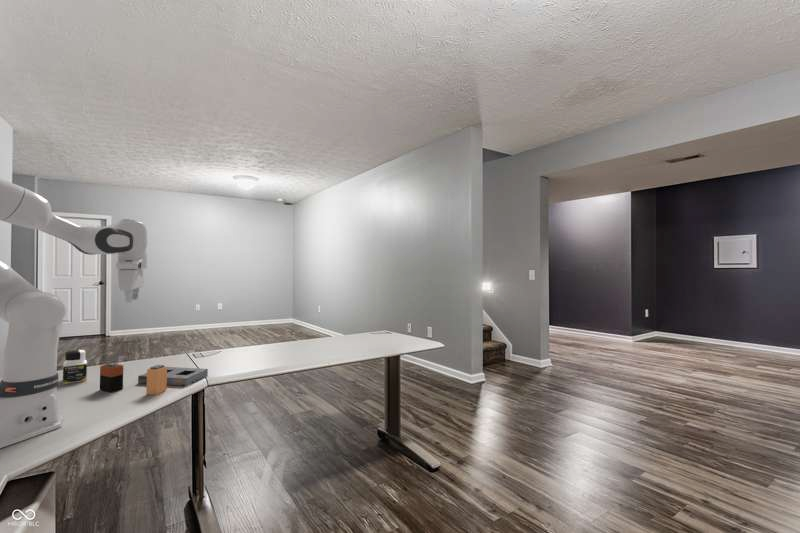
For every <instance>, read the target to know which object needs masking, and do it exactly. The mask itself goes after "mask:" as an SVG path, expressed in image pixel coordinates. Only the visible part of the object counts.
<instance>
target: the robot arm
mask: <svg viewBox="0 0 800 533" xmlns="http://www.w3.org/2000/svg"><path fill="white" fill-rule="evenodd" d="M51 206H52V205H51V204H50V202H49V200H47V199H46V198H45V197H43V196H41V195H40V194H38V193H37V192H34V191H32V190H30V189H28V188H26V187H23V186H21V185H18V184H16V183H12V182H11V181H7V180H5V179H1V178H0V221H3V222H6V223H8V224H11V225H14V226H18V227H21V228H26V229H27V228H28V229H31V230H37V231H40V232H43V233H45V234H48V235H50V236H53V237H56V238H58V239H61V240H63V241H65V242H68V244H71V246H73V247H74V248H75V249H76V250H77V251H79V252H80V253H82V254H85V255H89V256H90V255H91V256H92V255H94V256H95V255H115V254H117V262H116V264H115V268H116V270H117V276H118V277H117V280H118V288H119V290H120V291H123V293H124V298H125V299H124V301H125V303H132V302H133V301H135V300H138V299H139V293H140V288H142V287H144V269H148V254H147V247H148V232H147V226H146V224H145V223H144V222H141V221H138V220H135V219H127V218H125V219H120V221H118V222H116V223H113V224H110V225H106V226H97V227H96V226H81V225H77V224H75V223H73V222H71V221H69V220H66V219H64V218H62V217H60V216H57V215H56V214H54V213H53V212H52V210H53V209H52V207H51ZM66 312H67V310H66V306H65V304H64V302H63V301H62V300H61V299H60V297H58V296H57V295H55V294H53V293H51V292H46V291H42V290H40V289H39V288H37V287H36V286H35V285H33V284H31V283H30V281H28V280H26V279H25V278H24V277H23V276H22V275H20V274H19V273H18V272H16V270H14V269H13V268H12V267H11V266H10V265H8V264H6V263H5V262H4V261H2V260H1V259H0V319H1V320H3V321H5V322H6V323H8V330H7V335H6V342H5V348H4V350H3V353H2V354H3V355H2V357H3V358H2V379H1V380H0V449H2V448H6V447H7V446H10V445H14V444H16V443H19V442H22V441H25V440H28V439H30V438H34V437H37V436H40V435H42V434H45V433H48V432H50V431H53V430H56V429H59V428H61V427H62V422H63V416H62V413H61V409H60V405H59V404H60V403H59V399H58V398H59V397H58V390H57V387H58V386H59V381H60V379H59V373H58V372H57V371H58V370H57V368H58V366H57V365H58V347H59V341H60V336H61V333H62V328H63V322H64V318H65V316H66Z"/></svg>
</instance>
